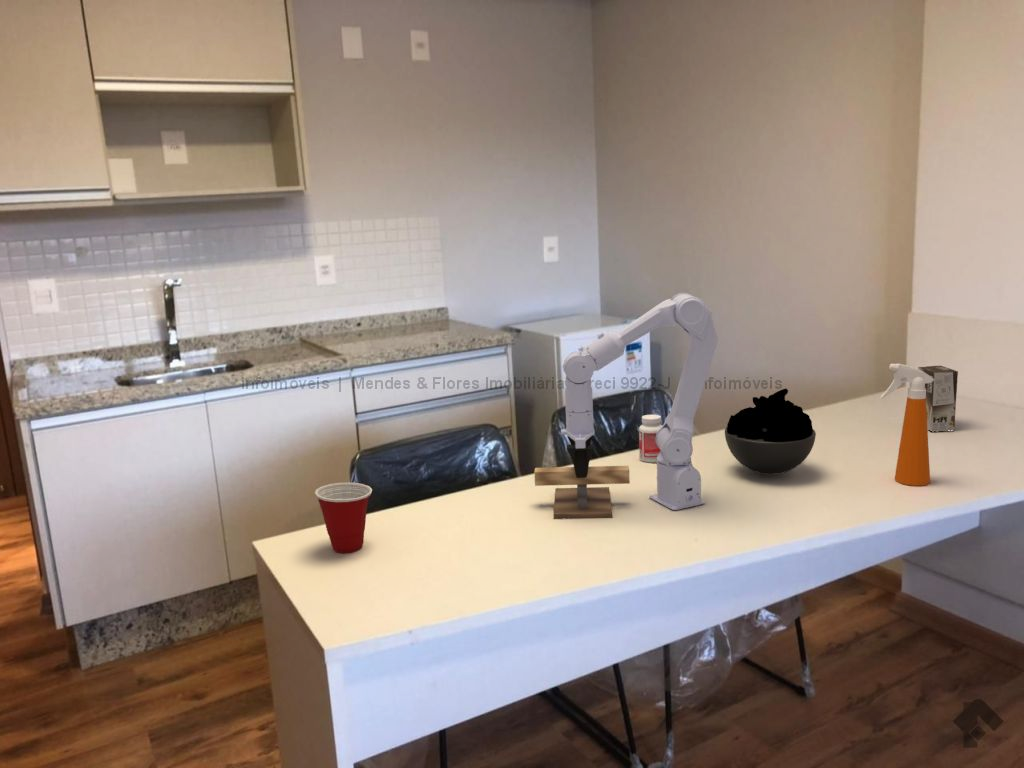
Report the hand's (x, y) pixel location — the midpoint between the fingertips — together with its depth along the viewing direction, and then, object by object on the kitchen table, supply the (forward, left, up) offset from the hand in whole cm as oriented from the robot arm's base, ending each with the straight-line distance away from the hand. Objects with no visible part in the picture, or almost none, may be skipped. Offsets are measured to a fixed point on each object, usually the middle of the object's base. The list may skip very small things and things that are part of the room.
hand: (581, 471), depth 175 cm
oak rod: (0, 0, -2) cm, 2 cm away
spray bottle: (-24, -67, -8) cm, 72 cm away
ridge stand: (0, 0, -7) cm, 7 cm away
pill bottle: (+19, -30, -8) cm, 36 cm away
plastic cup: (+3, +50, -8) cm, 51 cm away
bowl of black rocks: (-4, -47, -8) cm, 48 cm away
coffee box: (+2, -108, -8) cm, 108 cm away
